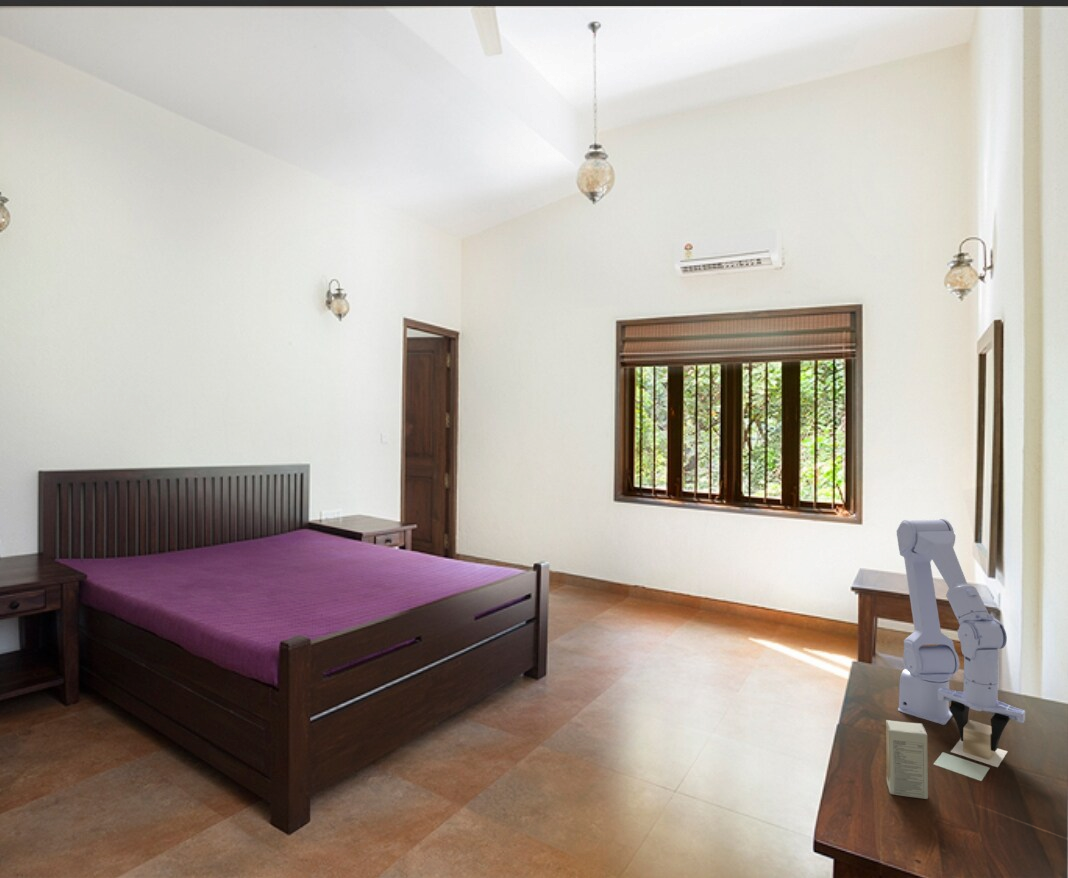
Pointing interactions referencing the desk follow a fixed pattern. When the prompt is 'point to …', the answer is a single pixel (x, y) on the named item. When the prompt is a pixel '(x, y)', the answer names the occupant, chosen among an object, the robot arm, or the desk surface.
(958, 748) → the tile
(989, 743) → the maple block
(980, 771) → the sage coaster
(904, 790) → the skincare box
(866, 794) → the desk surface
